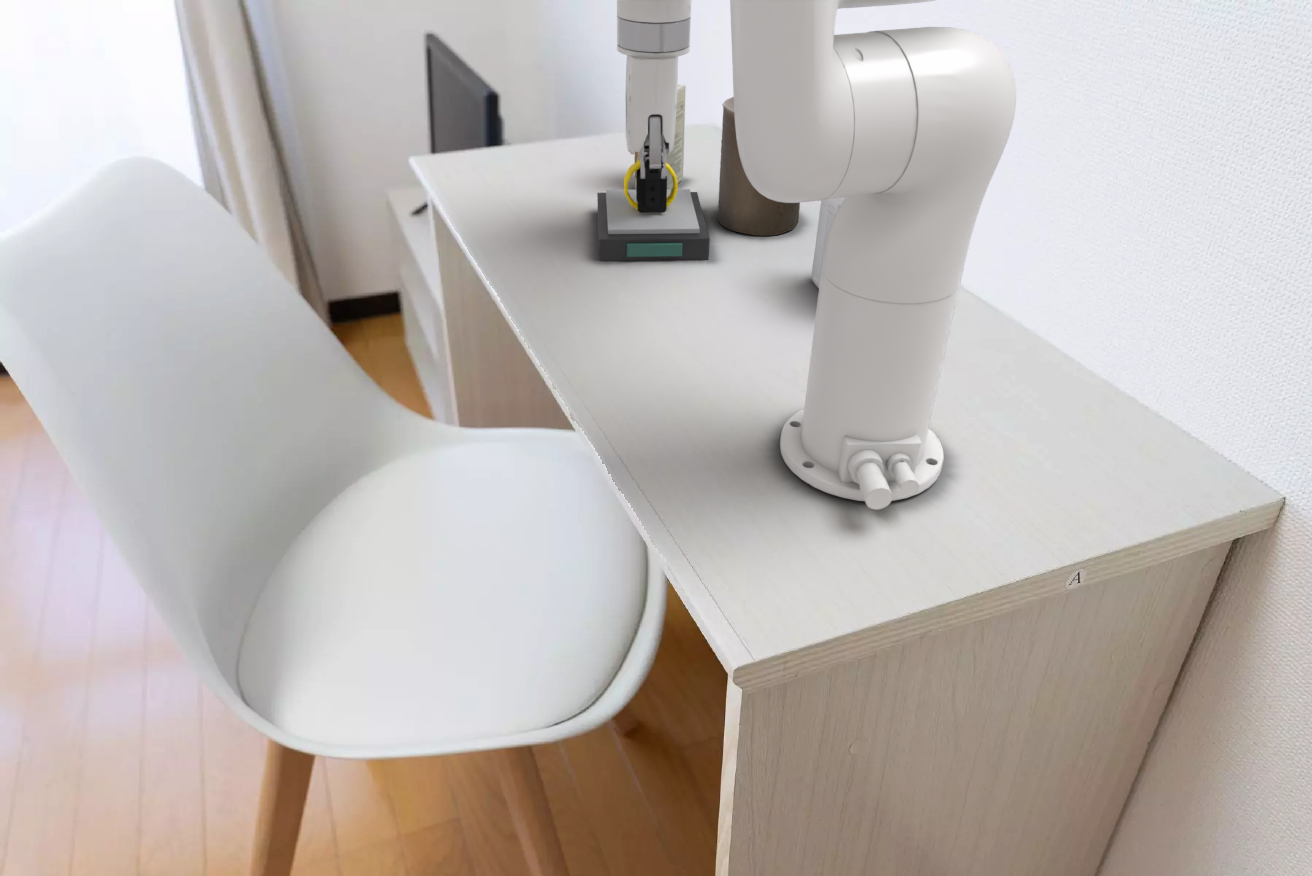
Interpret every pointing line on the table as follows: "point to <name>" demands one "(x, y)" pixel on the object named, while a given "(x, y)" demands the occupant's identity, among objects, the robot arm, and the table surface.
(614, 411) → the table surface
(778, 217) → the pillar candle
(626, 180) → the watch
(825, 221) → the photo printer
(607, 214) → the scale
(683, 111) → the cosmetic box
